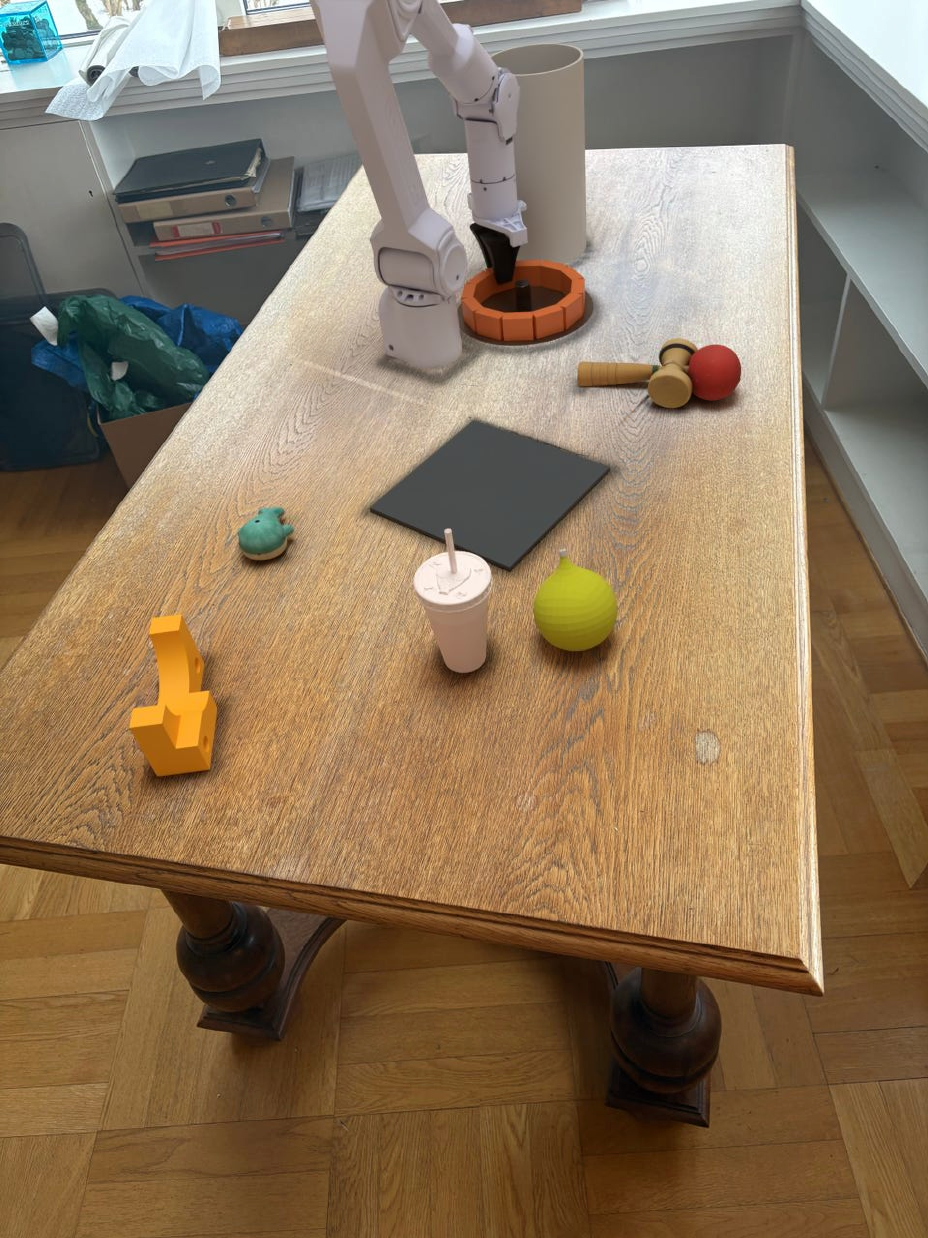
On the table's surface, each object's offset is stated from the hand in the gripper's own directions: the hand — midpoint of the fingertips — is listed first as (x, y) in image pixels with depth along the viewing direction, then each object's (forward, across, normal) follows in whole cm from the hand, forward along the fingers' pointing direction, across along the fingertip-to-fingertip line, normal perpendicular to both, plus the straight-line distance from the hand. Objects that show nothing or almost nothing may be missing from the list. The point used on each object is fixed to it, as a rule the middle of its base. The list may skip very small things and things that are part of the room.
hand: (501, 278), depth 127 cm
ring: (+1, -7, 0) cm, 7 cm away
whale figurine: (+2, -35, +42) cm, 54 cm away
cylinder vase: (+2, +8, -10) cm, 13 cm away
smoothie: (+2, -59, +30) cm, 66 cm away
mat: (+2, -39, +19) cm, 43 cm away
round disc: (+2, -7, 0) cm, 7 cm away
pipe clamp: (+2, -54, +54) cm, 76 cm away
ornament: (+2, -62, +20) cm, 65 cm away
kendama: (+2, -32, -5) cm, 32 cm away
